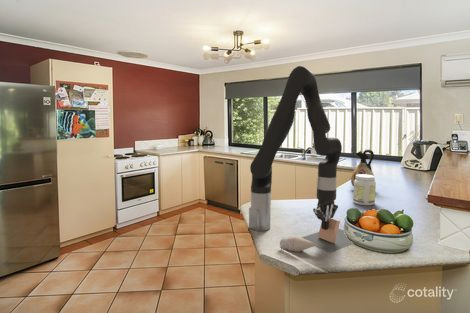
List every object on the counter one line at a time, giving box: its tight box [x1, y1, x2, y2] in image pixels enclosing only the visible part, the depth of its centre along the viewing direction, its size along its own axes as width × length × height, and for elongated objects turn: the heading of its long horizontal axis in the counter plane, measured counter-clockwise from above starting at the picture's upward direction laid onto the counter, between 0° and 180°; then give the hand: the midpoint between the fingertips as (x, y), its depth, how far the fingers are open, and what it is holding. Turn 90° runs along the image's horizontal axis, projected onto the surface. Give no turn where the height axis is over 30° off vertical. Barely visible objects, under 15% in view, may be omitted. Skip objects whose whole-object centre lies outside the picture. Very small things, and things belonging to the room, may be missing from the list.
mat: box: [300, 228, 355, 254], centre depth 123 cm, size 24×16×1 cm, turn 124°
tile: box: [318, 218, 341, 243], centre depth 121 cm, size 2×7×9 cm, turn 35°
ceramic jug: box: [350, 149, 376, 187], centre depth 206 cm, size 17×15×30 cm
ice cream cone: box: [279, 235, 318, 253], centre depth 111 cm, size 6×6×15 cm
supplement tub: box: [352, 174, 377, 206], centre depth 177 cm, size 12×12×17 cm
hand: (325, 229), depth 119 cm, fingers closed
